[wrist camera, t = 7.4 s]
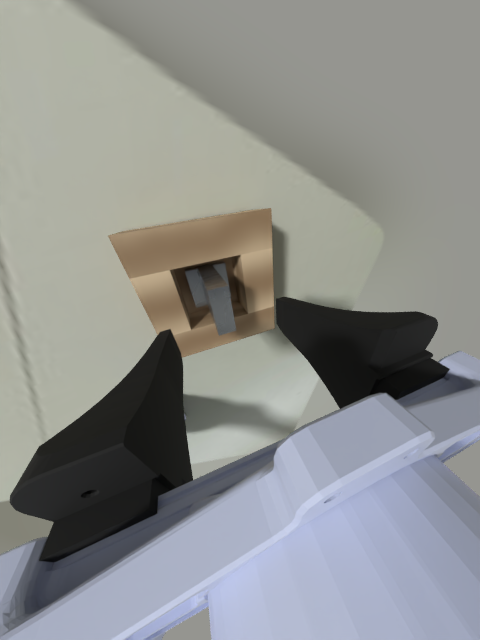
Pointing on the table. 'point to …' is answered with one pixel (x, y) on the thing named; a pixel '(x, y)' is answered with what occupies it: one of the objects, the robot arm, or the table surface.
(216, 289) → the grey block
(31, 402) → the table surface
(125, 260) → the well block
